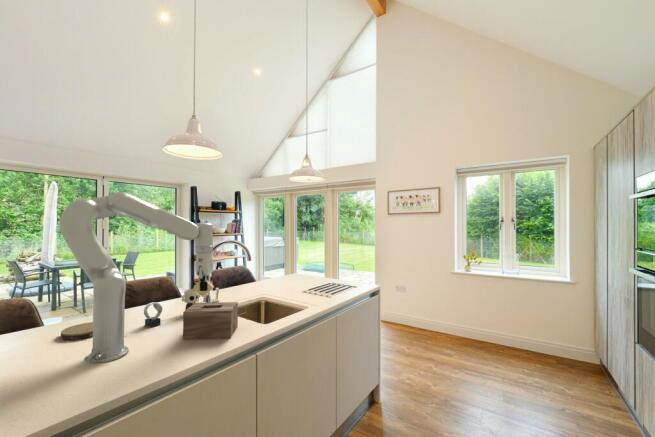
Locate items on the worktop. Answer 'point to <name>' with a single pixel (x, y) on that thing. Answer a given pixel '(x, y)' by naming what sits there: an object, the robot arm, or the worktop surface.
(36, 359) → the worktop surface
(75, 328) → the round wooden board
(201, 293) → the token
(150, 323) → the watch
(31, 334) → the worktop surface
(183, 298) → the character mug
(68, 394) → the worktop surface
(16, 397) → the worktop surface
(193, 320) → the coin box
